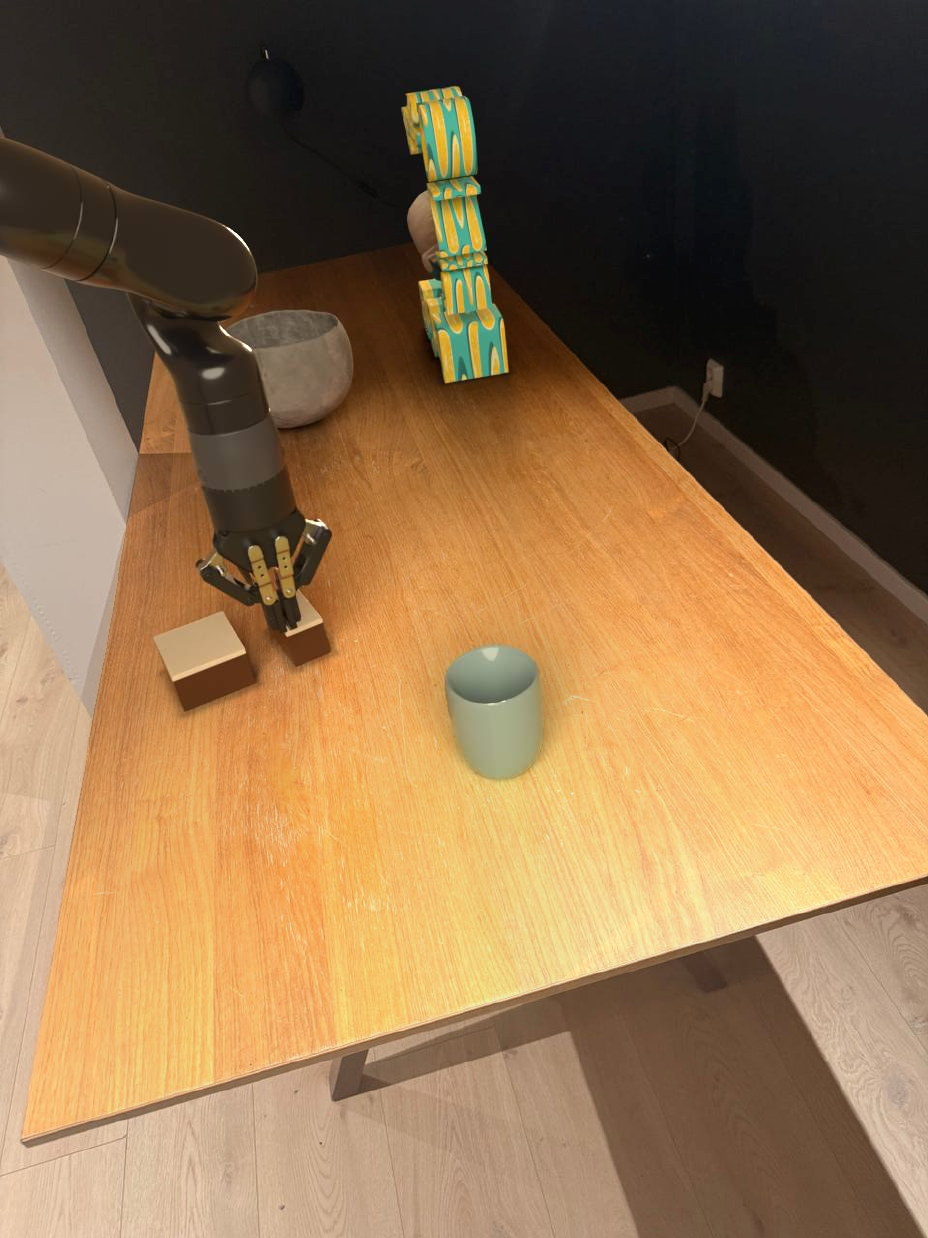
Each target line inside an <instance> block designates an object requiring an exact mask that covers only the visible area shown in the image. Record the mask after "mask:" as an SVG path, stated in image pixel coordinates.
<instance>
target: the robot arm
mask: <svg viewBox="0 0 928 1238" xmlns="http://www.w3.org/2000/svg"><path fill="white" fill-rule="evenodd" d="M0 256H1V257H5V258H7V259H10V260H13V261H15V262H19V263H21V264H24V265H27V266H29V267H31V268H35V269H38V270H41V271H42V272H43V271H44V272H46V273H49V274H53V275H55V276H58V277H61V278H63V279H67V280H70V281H73V282H76V283H79V284H83V285H85V286H86V285H87V286H91V287H96V288H102V289H112V290H119V291H123V292H125V295H126V296H127V299H128V301H129V305H130V307H131V309H132V311H133V313H134V315H135V317H136V319H137V320H138V323H139V324H140V326H141V328H142V330H143V331H144V333H145V335H146V337H147V338H148V340H149V342H150V344H151V346H152V348H153V349H154V351H155V353H156V355H157V356H158V358H159V360H160V361H161V363H162V364H163V366H164V368H165V369H166V371H167V372H168V373H169V375H170V377H171V379H172V382H173V386H174V389H175V393H176V397H177V400H178V404H179V407H180V410H181V413H182V417H183V421H184V424H185V427H186V430H187V436H188V442H189V449H190V453H191V456H192V457H191V458H192V460H193V464H194V467H195V470H196V475H197V476H198V480H199V483H200V487H201V490H202V493H203V497H204V500H205V503H206V506H207V509H208V513H209V516H210V520H211V523H212V526H213V536H212V540H211V542H212V543H211V544H212V547H213V549H212V550H211V551H210V552H209V554H208V555H207V556H206V557H205V558H199V559H197V561H196V562H195V569H196V570H197V573H198V574H199V576H200V577H201V579H202V581H203V582H205V583H206V584H208V585H210V586H211V587H212V588H215V589H217V590H219V591H220V592H222V593H223V594H225V595H227V596H229V597H230V598H232V599H233V600H235V601H237V602H239V603H241V604H242V605H244V606H246V607H252V606H254V605H255V604H260V605H261V608H262V611H263V614H264V619H265V621H266V624H267V623H268V624H269V626H270V627H271V629H272V630H273V631H275V630H278V632H279V633H280V634H283V633H286V632H287V628H286V624H285V620H284V617H285V619H286V620H287V622H288V623H289V625H290V626H291V628H292V630H294V629H296V628H298V627H297V622H299V621H301V613H300V609H299V605H298V602H297V598H296V592H297V590H298V589H299V590H300V589H301V587H303V586H304V587H306V586H309V585H310V584H311V583H312V581H313V579H314V577H315V575H316V573H317V570H318V568H319V566H320V564H321V562H322V559H323V558H324V555H325V553H326V551H327V549H328V546H329V545H330V542H331V539H332V537H333V532H332V530H331V529H330V528H329V527H328V526H327V525H326V523H324V521H323V520H322V519H320V518H316V519H314V520H311V519H307V518H306V517H305V515H304V514H303V513H302V511H300V509H299V508H298V506H297V502H296V498H295V493H294V489H293V485H292V480H291V477H290V473H289V469H288V464H287V460H286V450H285V447H284V445H283V443H282V440H281V436H280V432H279V430H278V429H279V428H277V427H276V424H275V422H274V419H273V417H272V414H271V411H270V408H269V403H268V399H267V395H266V391H265V386H264V382H263V378H262V374H261V371H260V367H259V364H258V361H257V358H256V356H255V354H254V352H253V351H252V349H251V348H250V347H249V346H247V345H246V344H244V343H243V342H241V341H239V340H237V339H235V338H233V337H232V336H230V335H229V334H227V333H226V332H225V331H224V330H225V329H223V327H222V326H221V324H220V323H222V322H226V321H230V320H232V319H234V318H236V317H238V316H239V315H241V314H242V313H244V312H245V310H247V308H248V307H249V306H250V304H251V303H252V301H253V300H254V297H255V296H256V292H257V289H258V282H259V281H258V280H259V277H258V276H259V274H258V268H257V264H256V261H255V258H254V256H253V254H252V252H251V250H250V248H249V247H248V246H247V244H246V243H245V241H244V240H243V239H242V238H241V237H240V236H239V235H238V234H237V233H236V232H234V231H233V230H232V229H231V228H229V227H227V226H226V225H224V224H222V223H220V222H218V221H217V220H214V219H212V218H210V217H207V216H204V215H201V214H199V213H196V212H192V211H189V210H187V209H183V208H180V207H176V206H175V205H171V204H167V203H165V202H161V201H157V200H154V199H151V198H148V197H147V198H146V197H144V196H140V195H137V194H135V193H131V192H129V191H127V190H124V189H122V188H120V187H118V186H116V185H115V184H113V183H111V182H109V181H107V180H106V179H103V178H101V177H99V176H96V175H95V174H92V173H91V172H88V171H87V170H84V169H81V168H79V167H78V166H76V165H73V164H71V163H69V162H66V161H64V160H62V159H60V158H58V157H56V156H54V155H51V154H50V153H47V152H44V151H42V150H40V149H37V148H34V147H32V146H29V145H27V144H24V143H21V142H19V141H16V140H12V139H10V138H7V137H3V136H0ZM301 538H302V540H303V541H302V544H301V545H300V548H299V550H298V553H297V555H296V557H295V559H294V562H293V563H292V558H293V556H294V554H295V552H296V550H297V547H298V545H299V543H300V541H301ZM224 559H225V560H226V561H227V562H229V563H231V564H233V565H234V566H236V568H237V567H239V568H241V569H242V570H244V571H246V572H248V573H249V574H250V576H251V578H252V581H253V584H254V585H249V584H248V583H246V582H243V581H242V580H241V579H239V578H237V577H236V576H234V575H233V574H230V573H229V572H228V567H227V565H226V564H225V563H224ZM270 569H272V573H273V577H274V582H275V585H276V587H277V589H276V590H274V587H273V584H272V579H271V575H270V573H269V570H270ZM274 591H276V593H277V597H278V599H277V598H276V596H275V593H274ZM283 616H284V617H283ZM290 631H291V629H290Z"/></svg>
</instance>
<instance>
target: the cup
mask: <svg viewBox="0 0 928 1238" xmlns="http://www.w3.org/2000/svg"><path fill="white" fill-rule="evenodd" d="M443 682H444V683H443V685H444V694H445V701H446V705H447V711H448V716H449V717H448V718H449V722H450V726H451V730H452V734H453V738H454V740H455V741H454V742H455V744H456V746H457V749H458V752H459V754H460V756H461V757H462V759H463V760H464V762H465V763H466V765H467V766H468V767H469V768H470V769H471V770H472V771H473V772H475V773H476V774H478V775H480V776H481V777H484V778H486V779H489V780H494V781H504V780H509V779H513V778H516V777H518V776H520V775H521V774H523V773H525V772H526V771H527V770H528V769H530V768H531V767H532V766H533V764H534V763H535V762H536V760H538V757H539V755H540V753H541V750H542V746H543V741H544V735H545V712H544V711H545V709H544V700H543V699H544V698H543V687H542V679H541V671H540V668H539V666H538V665H537V662H536V661H535V660H534V659H533V658H532V656H530V655H529V654H528V653H526V652H525V651H524V650H522V649H519V648H516V647H514V646H511V645H507V644H487V645H483V646H478V647H476V648H475V647H474V648H473V649H470V650H468V651H466V652H464V653H463V654H461V655H459V656H458V657H457V658H455V659H454V661H452V662H451V663H450V664H449V665H448V667H447V669H446V670H445V673H444V681H443Z"/></svg>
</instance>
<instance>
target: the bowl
mask: <svg viewBox="0 0 928 1238" xmlns="http://www.w3.org/2000/svg"><path fill="white" fill-rule="evenodd" d="M223 330H224V331H225V332H226V333H227V334H229V335H230V336H232V337H233V338H235V339H237V340H239V341H241V342H243V343H244V344H246V345H247V346H249V347H250V348H251V349H252V351H253V352H254V354H255V356H256V358H257V361H258V364H259V367H260V371H261V374H262V378H263V382H264V386H265V391H266V395H267V399H268V403H269V408H270V411H271V414H272V417H273V419H274V422H275V424H276V427H277V429H293V428H297V427H302V426H307V425H310V424H313V423H316V422H319V421H320V420H322V419H324V418H326V417H327V416H329V415H330V414H332V413H333V412H334V411H336V409H337V408H338V407H339V406H340V405H341V404H342V403H343V401H344V400H345V399H346V397H347V395H348V393H349V391H350V388H351V386H352V382H353V377H354V358H353V350H352V345H351V342H350V338H349V336H348V334H347V331H346V329H345V328H344V325H343V323H342V322H340V320H339V319H338V316H336V315H334V313H331V312H327V311H314V310H310V309H297V310H295V309H282V310H271V311H268V312H263V313H259V314H256V315H253V316H249V317H246V318H243V319H241V320H238V321H236V322H235V323H232V324H231V325H230V326H228V327H226V328H225V329H223Z"/></svg>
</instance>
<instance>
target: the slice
mask: <svg viewBox="0 0 928 1238" xmlns="http://www.w3.org/2000/svg"><path fill="white" fill-rule="evenodd" d="M274 593H275V596H276V598H277V599H278V597H277V593H276V590H274ZM296 598H297V602H298V605H299V609H300V613H301V621H299V622H297V627H298V628H296V629H294V630H291V631H290V629H289V628H288V627H287V626H286V628H287V632H286V633H283V634H280V633H279V632H278V630H275V631H273V630H272V629H271V627H270V626H269V624H268V623H267V622H266V625H267V627H268V630H269V632H270V634H271V635H272V637H273V638H274V639H275V640H276V642H277V643H278V645H279V646H280V648H281V649H282V650H283V652H284V653H285V655H286V656H287V657H288V658H289V660H290V661H291V662H292V664H293V665H294V667H295V668H297V667H299V666H301V665H304V664H306V663H308V662H310V661H314V660H315V659H318V658H320V657H322V656H325V655H327V654H330V653H331V648H330V644H329V640H328V637H327V632H326V629H325V624H324V620H323V617H322V616H321V615H320V614H319V613H318V612H317V610H316V609H315V607H314V606H313V605H312V604H311V602H309V600H308V599H307V598H306V596H305V595H304V594H303V593H302V592H301V591H300V588H299V589H298V590H297V592H296Z"/></svg>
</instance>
